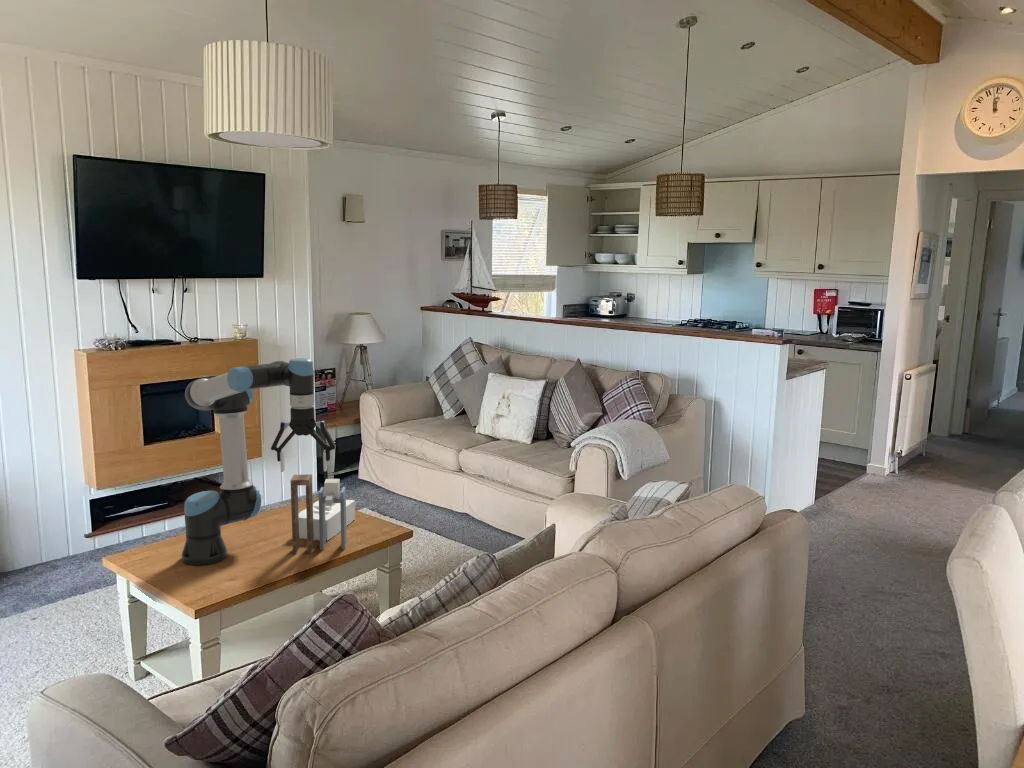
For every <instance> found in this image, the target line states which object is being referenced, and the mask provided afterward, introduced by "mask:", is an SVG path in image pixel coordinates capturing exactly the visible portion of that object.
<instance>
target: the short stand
mask: <svg viewBox="0 0 1024 768" xmlns="http://www.w3.org/2000/svg"><path fill="white" fill-rule="evenodd" d="M346 487H347V486H343V487H342V489H340V495H339V498H334V501H333V503H340V509H341V531H340V544H341V545H340V546H341V548H340V549H341V550H345V549H346V546H347V544H348V543H347V542H348V540H347V539H348V538H347V534H348V533H347V527H346V500H347V495H346V493H347V492H346V491H347V490H346ZM318 491H319V492H318V500H319V529H320V540H319V550H321V551H323V550H324V549H325V547H324V546H326V545H327V541H326V526H325V495H324V486H321V487H320V490H318ZM322 549H323V550H322Z"/></svg>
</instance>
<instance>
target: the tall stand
mask: <svg viewBox="0 0 1024 768" xmlns="http://www.w3.org/2000/svg"><path fill="white" fill-rule="evenodd" d="M298 486H305V507H306V508H305V509H306V513H307V539H306V540H307V541H306V543H307V544H306V545H307V546H306V547H307V554H308V555H309V554H312V553H313V550H314V548H315V540H314V531H313V504H314V501H313V500H314V498H313V497H314V496H313V474H293V476H292V477H291V479H290V505H291V508H290V509H291V532H292V533H291V536H292V554H293V555H297V553H298V551H299V549H300V547H301V546H300V538H299V514H298V513H299V491H298V490H299V488H298Z"/></svg>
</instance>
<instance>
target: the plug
mask: <svg viewBox="0 0 1024 768" xmlns="http://www.w3.org/2000/svg"><path fill="white" fill-rule="evenodd" d="M340 480H341V479H340V478H326V479H325V481H324V483H323V484H324V485H323V487H324V495H325V506H332V503H333V501H334V498H339V495H340V493H341V485H340V484H341V483H340V482H341V481H340Z"/></svg>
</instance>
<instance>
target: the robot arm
mask: <svg viewBox="0 0 1024 768" xmlns="http://www.w3.org/2000/svg"><path fill="white" fill-rule="evenodd" d="M314 373H315V370H314V363H313V360H312V359H310V358H303V357H302V358H301V357H300V358H292V359H290V360H289V361H288V362H287V361H283V360H275V361H272V362H270V363H264V364H255V365H254V364H253V365H245V366H244V365H240V366H237V367H231V368H230V369H229V371H227V372H226V373H222V374H220V375H217V376H211V377H210V376H209V377H202V378H197V379H195V380H193V381H191V382H189V384H188V385H187V386H186V387H185V390H184V391H185V392H184V397H185V400H186V402H187V404H188V405H189V406H191V407H192V408H194V409H196V410H198V411H213V415H215V416H216V417H217V418H218V424H219V425H218V426H219V436H220V439H219V440H220V449H221V462H222V473H223V474H222V475H223V483H222V484H220V486H219V489H220V491H219V492H220V493H219V492H218V491H217V490H206V491H205V490H203V491H200V492H196V493H194V494H191V495H190V496H188V497H187V498H186V500H185V501H184V509H183V514H184V525H185V542H184V546H183V549H182V553H181V561H182V563H183V562H184V563H183V564H185V563H186V564H185V565H188V564H191V565H190V566H205V565H206V564H208V565H212V564H211V563H213V564H216V563H219V562H221V561H223V560H225V559H226V557H228V548H227V547H226V544H225V541H224V539H223V536H222V530H221V529H222V527H223V526H225V525H230V524H233V523H238V522H241V521H247V520H248V519H252V518H254V517H256V516H257V515H258V513H259V512H260V510H261V508H262V495H261V493H260V490H259V489H258V487H257V486H255V485H254V481H251V480H250V478H249V469H248V468H249V467H248V465H249V464H248V455H247V452H248V451H247V442H246V431H245V430H246V427H245V414H247V412H248V406H250V405H251V404H252V403H253V400H254V391H253V390H256V389H263V388H265V389H266V388H271V387H280V386H285V387H289V406H290V411H289V413H290V421H289V422H288V421H285V420H282V421H281V422H280V426H279V430H278V432H277V434H276V437H275V439H274V440H273V442H272V445H271V447H270V450H271V451H275V452H276V457H277V458H276V459H277V462H280V472H281V473H283V472H285V470H286V467H285V466H286V465H285V462H286V461H285V450H283V449H284V447H285V446H286V445H287V444H288V443H289V442H290V440H291V439H292V438H293V437H294V436H296V435H297V436H299V437H300V436H305V437H307V436H309V435H310V436H311V437H312V438H314V439H313V440H315V441H316V442H317V443H318V444H319V445H320V447H321V448H322V449H323V453H322V455H323V456H322V458H323V472H327V470H328V462H329V461H330V460H331V451H333V450H335V449H336V447H337V446H336V444H335V442H334V440H333V438H332V436H331V434H330V432H329V431H328V429H327V428H326V421H325V420H321V421H316V420H315V419H316V418H315V417H316V416H315V414H316V413H315V412H316V411H315V407H314V406H315V392H314V391H315V386H314V385H315V383H314V382H315V381H314V379H315V378H314V377H315V376H314ZM288 427H289V428H290V429H291V432H290V433H289V434H288V435H287V437H286V438H285V439H284V440H283V442H282V443H281V444H280V445H279V446H278V444H279V442H280V440H281V437H282V436H283V434H284V432H285V429H288ZM316 427H318V428H319V429H320V431H321V433H322V435H323V436H324V438H325V440H326V441H325V440H324V438H322V436H320V435H319V434H318V432H317V431H316V429H315V428H316ZM218 561H219V562H218ZM215 562H216V563H215ZM206 566H207V565H206Z"/></svg>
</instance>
